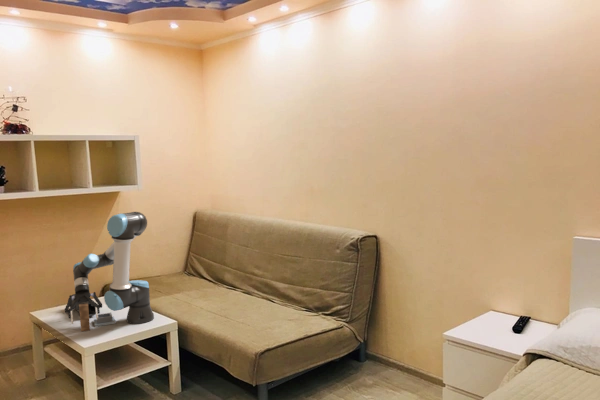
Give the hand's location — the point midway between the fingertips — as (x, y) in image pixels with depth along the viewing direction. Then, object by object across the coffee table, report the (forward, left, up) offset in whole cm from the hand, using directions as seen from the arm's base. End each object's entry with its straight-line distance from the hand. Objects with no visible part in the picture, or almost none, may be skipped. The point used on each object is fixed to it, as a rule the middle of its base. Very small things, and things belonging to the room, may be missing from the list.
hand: (84, 320), depth 271 cm
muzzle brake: (+26, -26, -6) cm, 37 cm away
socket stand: (0, -15, -6) cm, 16 cm away
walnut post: (+2, -2, -6) cm, 6 cm away
